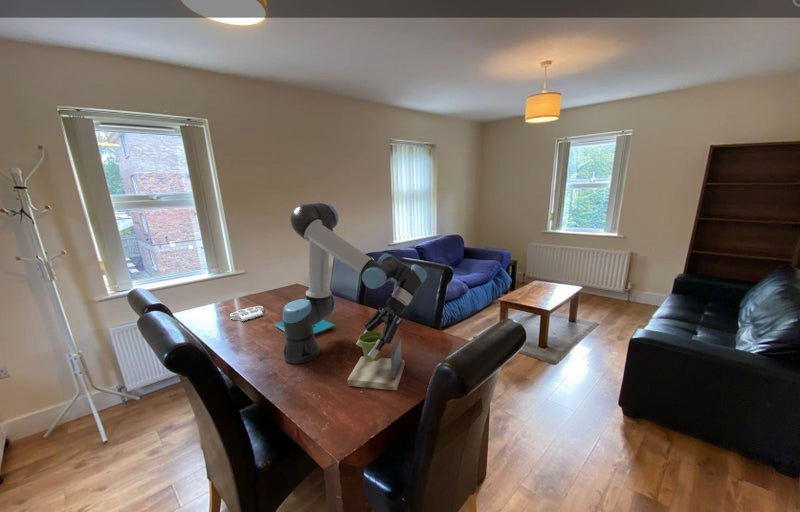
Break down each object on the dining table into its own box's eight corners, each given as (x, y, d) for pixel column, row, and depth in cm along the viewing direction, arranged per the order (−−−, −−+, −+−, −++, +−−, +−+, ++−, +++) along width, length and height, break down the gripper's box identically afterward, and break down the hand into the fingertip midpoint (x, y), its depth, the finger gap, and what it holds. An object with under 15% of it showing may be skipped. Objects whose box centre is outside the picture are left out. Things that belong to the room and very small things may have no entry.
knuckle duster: (236, 325, 169) (227, 318, 179) (269, 315, 181) (259, 309, 191) (235, 319, 168) (227, 312, 178) (268, 309, 180) (258, 304, 191)
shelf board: (347, 385, 112) (347, 379, 111) (361, 361, 127) (361, 356, 127) (396, 390, 108) (396, 383, 108) (404, 365, 124) (404, 359, 123)
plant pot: (375, 367, 110) (374, 345, 108) (355, 360, 115) (353, 339, 113) (390, 355, 118) (388, 334, 116) (370, 349, 123) (369, 329, 121)
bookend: (391, 380, 110) (390, 354, 108) (398, 361, 122) (397, 338, 120) (395, 380, 110) (393, 354, 108) (401, 362, 121) (400, 338, 119)
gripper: (421, 314, 112) (386, 368, 107) (390, 298, 130) (358, 344, 125) (409, 304, 108) (371, 359, 103) (378, 288, 126) (345, 335, 121)
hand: (364, 351), depth 114 cm, fingers closed on plant pot, 9 cm apart
